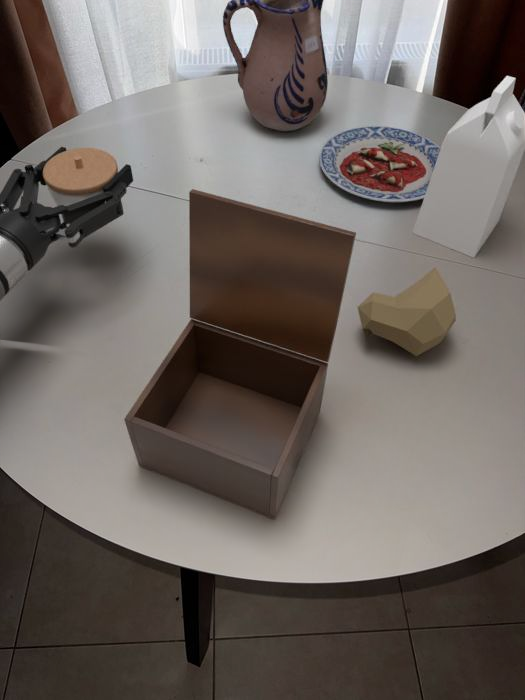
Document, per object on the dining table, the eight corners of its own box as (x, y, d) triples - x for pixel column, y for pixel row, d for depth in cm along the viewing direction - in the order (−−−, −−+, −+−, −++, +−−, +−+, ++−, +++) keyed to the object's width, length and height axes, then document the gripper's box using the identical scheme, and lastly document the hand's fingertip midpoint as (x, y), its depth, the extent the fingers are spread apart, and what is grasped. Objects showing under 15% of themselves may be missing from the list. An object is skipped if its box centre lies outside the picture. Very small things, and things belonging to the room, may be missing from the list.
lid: (354, 235, 58) (356, 232, 59) (189, 191, 63) (192, 188, 63) (327, 362, 70) (329, 358, 70) (189, 318, 74) (192, 314, 75)
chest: (275, 520, 69) (278, 478, 61) (138, 465, 73) (123, 419, 65) (320, 412, 79) (328, 363, 70) (197, 369, 83) (191, 318, 75)
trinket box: (45, 228, 88) (27, 175, 81) (69, 186, 95) (55, 134, 88) (113, 236, 88) (101, 183, 80) (133, 193, 94) (124, 141, 87)
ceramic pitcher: (334, 136, 123) (350, 8, 104) (238, 150, 119) (235, 19, 100) (309, 97, 134) (318, -27, 114) (219, 108, 130) (214, -18, 111)
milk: (439, 199, 109) (481, 58, 89) (498, 221, 105) (556, 79, 85) (412, 232, 103) (451, 89, 83) (474, 258, 99) (530, 113, 79)
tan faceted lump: (458, 324, 90) (414, 264, 90) (491, 310, 79) (440, 243, 80) (382, 379, 88) (338, 318, 89) (405, 374, 77) (354, 304, 78)
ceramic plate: (411, 228, 104) (415, 215, 102) (293, 177, 113) (294, 164, 111) (470, 163, 117) (474, 150, 115) (359, 122, 127) (361, 109, 124)
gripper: (-54, 249, 82) (40, 166, 94) (87, 297, 76) (167, 202, 89) (-78, 206, 76) (27, 124, 89) (73, 254, 70) (161, 159, 83)
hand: (97, 163), depth 89 cm, fingers closed on trinket box, 11 cm apart
